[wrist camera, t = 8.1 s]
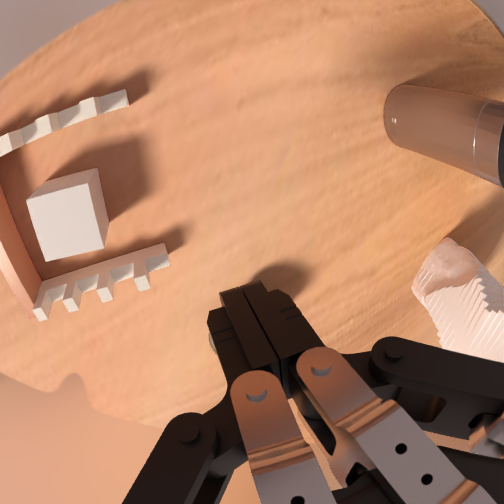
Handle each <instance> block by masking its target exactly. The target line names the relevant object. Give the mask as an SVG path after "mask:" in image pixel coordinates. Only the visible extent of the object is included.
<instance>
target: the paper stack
mask: <svg viewBox="0 0 504 504" xmlns="http://www.w3.org/2000/svg"><path fill="white" fill-rule="evenodd" d="M411 289H412V292H413V293H414V294H415V296H416V297H417V298H418V300H419V301H420V302H421V303H422V304H423V305H424V306H425V307H426V309H427V310H428V311H429V312H430V313H429V315H430V316H431V317H432V318H433V319H432V321H433V322H434V323H435V324H436V325H435V327H436V328H437V329H438V330H439V332H438V333H437V335H438V336H439V337H440V338H441V339H440V341H439V343H440V344H441V345H442V346H443V347H442V349H446V350H450V351H454V352H459V353H463V354H467V355H471V356H476V357H480V358H484V359H489V360H493V361H498V362H502V363H504V287H503V286H502V285H501V284H500V283H499V282H498V281H497V280H496V279H495V278H494V277H493V276H492V275H491V274H490V273H489V271H488V270H487V269H486V268H485V267H484V266H483V264H482V263H480V261H479V260H478V259H477V258H476V257H475V255H474V254H472V252H471V251H470V250H468V249H467V248H464V247H462V246H459V245H458V244H457V243H456V242H455V241H453V239H451V238H448V237H446V238H444V239H442V240H441V241H440V242H439V243H438V244H437V245H436V246H435V247H434V248H433V250H432V251H431V252H430V253H429V255H428V256H427V258H426V259H425V261H424V262H423V264H422V266H421V268H420V269H419V271H418V272H417V274H416V276H415V279H414V283H413V285H412V287H411Z"/></svg>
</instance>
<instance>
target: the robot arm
mask: <svg viewBox="0 0 504 504" xmlns="http://www.w3.org/2000/svg"><path fill="white" fill-rule="evenodd" d="M384 124H385V128H386V132H387V134H388V136H389V138H390V139H391V140H392V142H393V143H395V144H396V145H397V146H399V147H402V148H405V149H408V150H411V151H414V152H417V153H419V154H422V155H425V156H428V157H430V158H433V159H436V160H438V161H441V162H444V163H446V164H449V165H451V166H454V167H456V168H459V169H461V170H464V171H466V172H468V173H471V174H473V175H475V176H478V177H480V178H482V179H484V180H487V181H489V182H491V183H493V184H496V185H498V186H500V187H502V188H504V102H500V101H497V100H492V99H488V98H484V97H479V96H475V95H470V94H465V93H460V92H455V91H449V90H443V89H437V88H430V87H424V86H416V85H406V84H403V85H399V86H397V87H396V88H394V89H393V90H392V91H391V93H390V94H389V96H388V98H387V100H386V103H385V108H384ZM219 295H220V300H221V304H222V307H221V308H217V309H214V310H211V311H209V315H208V320H207V324H208V327H209V331H210V334H211V337H212V340H213V343H214V346H215V349H216V352H217V355H218V358H219V360H220V363H221V366H222V369H223V372H224V374H225V377H226V380H227V385H228V386H227V391H226V394H225V396H224V398H223V399H222V401H221V402H220V403H219V404H218V405H216V406H215V407H214V408H212V409H211V410H209V411H207V412H206V413H204V414H203V415H202V414H199V413H193V412H190V413H183V414H180V415H178V416H176V417H175V418H173V419H172V420H171V421H170V422H169V423H168V425H167V426H166V428H165V430H164V432H163V433H162V435H161V437H160V439H159V440H158V442H157V444H156V445H155V447H154V449H153V451H152V452H151V454H150V456H149V458H148V459H147V461H146V463H145V465H144V467H143V468H142V470H141V471H140V473H139V475H138V477H137V478H136V480H135V482H134V484H133V485H132V487H131V489H130V490H129V492H128V494H127V496H126V497H125V499H124V501H123V502H122V504H219V503H220V501H221V499H222V496H223V494H224V492H225V490H226V488H227V485H228V483H229V481H230V479H231V476H232V474H233V472H234V470H235V469H236V468H237V467H239V466H240V465H242V464H243V463H244V462H246V461H247V460H249V465H250V469H251V473H252V476H253V479H254V482H255V486H256V489H257V492H258V495H259V498H260V501H261V503H262V504H504V363H502V362H498V361H493V360H489V359H484V358H480V357H476V356H471V355H467V354H463V353H459V352H454V351H450V350H446V349H442V348H438V347H434V346H430V345H426V344H422V343H419V342H415V341H411V340H407V339H403V338H399V337H393V336H391V337H385V338H382V339H380V340H378V341H377V342H376V343H375V344H374V346H373V347H372V351H367V352H361V353H355V354H341V353H339V352H337V351H336V350H334V349H332V348H328V347H326V346H325V345H324V344H323V342H322V341H321V340H320V338H319V337H318V335H317V334H316V333H315V331H314V330H313V328H312V327H311V326H310V324H309V323H308V321H307V320H306V319H305V317H304V316H303V315H302V313H301V312H300V310H299V309H298V307H296V305H295V303H294V302H293V300H292V299H291V298H290V296H289V295H287V294H285V293H284V292H282V291H280V290H278V289H277V290H274V291H271V292H267V290H266V288H265V287H264V285H263V284H262V282H261V281H260V280H258V281H255V282H252V283H249V284H245V285H242V286H240V287H236V288H233V289H229V290H226V291H223V292H220V293H219ZM290 398H293V400H294V401H295V403H296V405H297V409H298V416H299V418H300V419H301V421H302V422H303V424H304V425H305V427H306V428H307V430H308V431H309V433H310V434H311V436H312V437H313V439H314V440H315V442H316V443H317V445H318V446H319V448H320V449H321V451H322V452H323V453H324V455H325V457H326V458H327V460H328V462H329V466H330V469H331V471H332V473H333V475H334V476H335V477H336V479H337V480H338V482H339V484H340V485H341V486H342V489H338V490H334V491H331V490H330V488H329V486H328V484H327V481H326V479H325V477H324V475H323V472H322V470H321V468H320V465H319V463H318V461H317V459H316V457H315V454H314V452H313V450H312V449H311V447H310V445H309V444H308V443H306V442H305V440H304V438H303V436H302V434H301V431H300V429H299V426H298V424H297V422H296V419H295V417H294V415H293V412H292V410H291V407H290V405H289V403H288V399H290ZM423 430H424V431H429V432H433V433H437V434H441V435H446V436H451V437H456V438H461V439H466V440H469V441H470V444H469V450H470V451H471V452H472V453H469V452H465V451H460V450H456V449H452V448H448V447H443V446H436V445H435V444H434V443H433V442H432V440H431V439H430V438H429V437H428V436H427V435H426V434H425V433H424V432H423ZM474 453H478V454H474ZM479 454H480V455H479Z"/></svg>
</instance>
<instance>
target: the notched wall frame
mask: <svg viewBox="0 0 504 504" xmlns="http://www.w3.org/2000/svg"><path fill="white" fill-rule="evenodd" d="M126 106H129V101H128V96H127V91H126V90H125V89H123V90H120V91H117V92H113V93H110V94H107V95H104V96H101V97H91V98H88V99H85V100H83V101H80V102H79V104H78V105H75V106H72V107H70V108H67V109H65V110H62V111H60V112H57V113H51V114H47V115H45V116H42V117H40V118H38V119H36V120H35V121H36V122H34V123H32V124H30V125H27V126H25V127H23V128H21V129H18V130H15V131H12V132H9V133H7V134H5V135H3V136H1V137H0V157H1V156H3V155H5V154H7V153H9V152H11V151H13V150H15V149H17V148H19V147H21V146H23V145H25V144H27V143H29V142H32V141H34V140H36V139H38V138H41V137H43V136H45V135H48V134H50V133H52V132H55V131H57V130H60V129H62V128H65V127H67V126H70V125H72V124H75V123H78V122H81V121H83V120H86V119H89V118H92V117H95V116H98V115H101V114H104V113H107V112H110V111H113V110H116V109H120V108H123V107H126ZM168 266H170V261H169V256H168V253H167V249H166V246H165V243H161V244H157V245H154V246H151V247H148V248H144V249H141V250H138V251H134V252H131V253H128V254H125V255H122V256H118V257H115V258H112V259H109V260H106V261H103V262H99V263H96V264H93V265H90V266H87V267H84V268H81V269H78V270H75V271H72V272H69V273H66V274H63V275H60V276H57V277H54V278H51V279H48V280H45V281H42V280H41V278H40V276H39V274H38V273H37V271H36V269H35V267H34V265H33V262H32V260H31V258H30V256H29V254H28V252H27V250H26V248H25V246H24V243H23V241H22V239H21V237H20V234H19V232H18V230H17V227H16V225H15V222H14V220H13V217H12V215H11V212H10V210H9V207H8V204H7V202H6V199H5V196H4V193H3V190H2V187H1V184H0V268H1V270H2V272H3V274H4V276H5V278H6V280H7V281H8V283H9V285H10V287H11V289H12V290H13V292H14V294H15V296H16V297H17V299H18V301H19V302H20V304H21V306H22V307H23V309H24V311H25V312H26V314H27V315H28V317H29V318H30V319H31V318H35V317H37V318H38V320H39V322H40V321H43V320H46V319H48V317H49V313H50V310H51V306H52V303H53V302H54V301H57V300H60V299H63V300H62V301H63V303H64V305H65V306H66V308H67V310H68V311H69V313H70V312H73V311H77V310H79V306H80V301H81V296H82V293H83V292H86V291H89V290H92V289H96V291H97V293H98V295H99V297H100V299H101V300H102V302H103V303H104V302H107V301H110V300H113V297H114V283H115V282H118V281H122V280H125V279H128V278H131V277H134V281H135V283H136V285H137V288H138V290H139V292H140V291H144V290H147V289H150V288H151V287H150V277H149V272H151V271H154V270H158V269H161V268H164V267H168Z"/></svg>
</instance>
